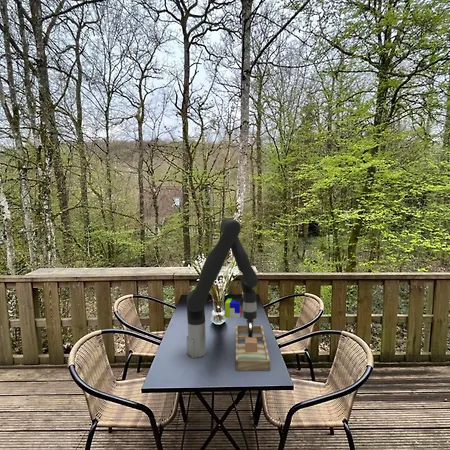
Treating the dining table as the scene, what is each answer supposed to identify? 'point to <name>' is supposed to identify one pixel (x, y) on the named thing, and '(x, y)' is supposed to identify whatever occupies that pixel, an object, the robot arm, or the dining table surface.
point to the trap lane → (251, 359)
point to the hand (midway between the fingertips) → (250, 339)
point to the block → (251, 344)
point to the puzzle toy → (233, 308)
